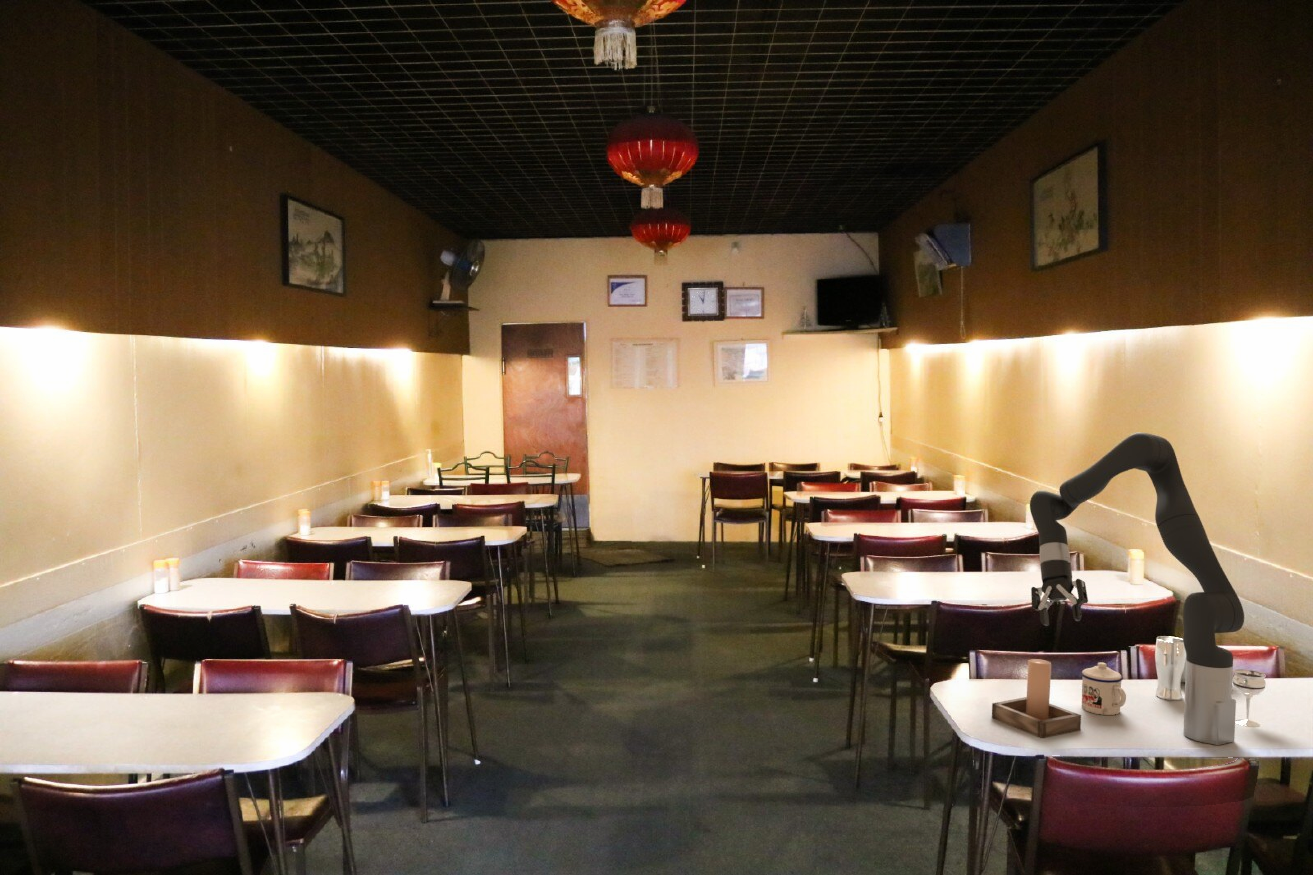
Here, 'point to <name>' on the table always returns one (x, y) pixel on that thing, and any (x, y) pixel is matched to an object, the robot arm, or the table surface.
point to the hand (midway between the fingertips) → (1061, 622)
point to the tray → (1054, 725)
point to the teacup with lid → (1102, 690)
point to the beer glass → (1169, 666)
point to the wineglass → (1248, 689)
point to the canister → (1038, 689)
